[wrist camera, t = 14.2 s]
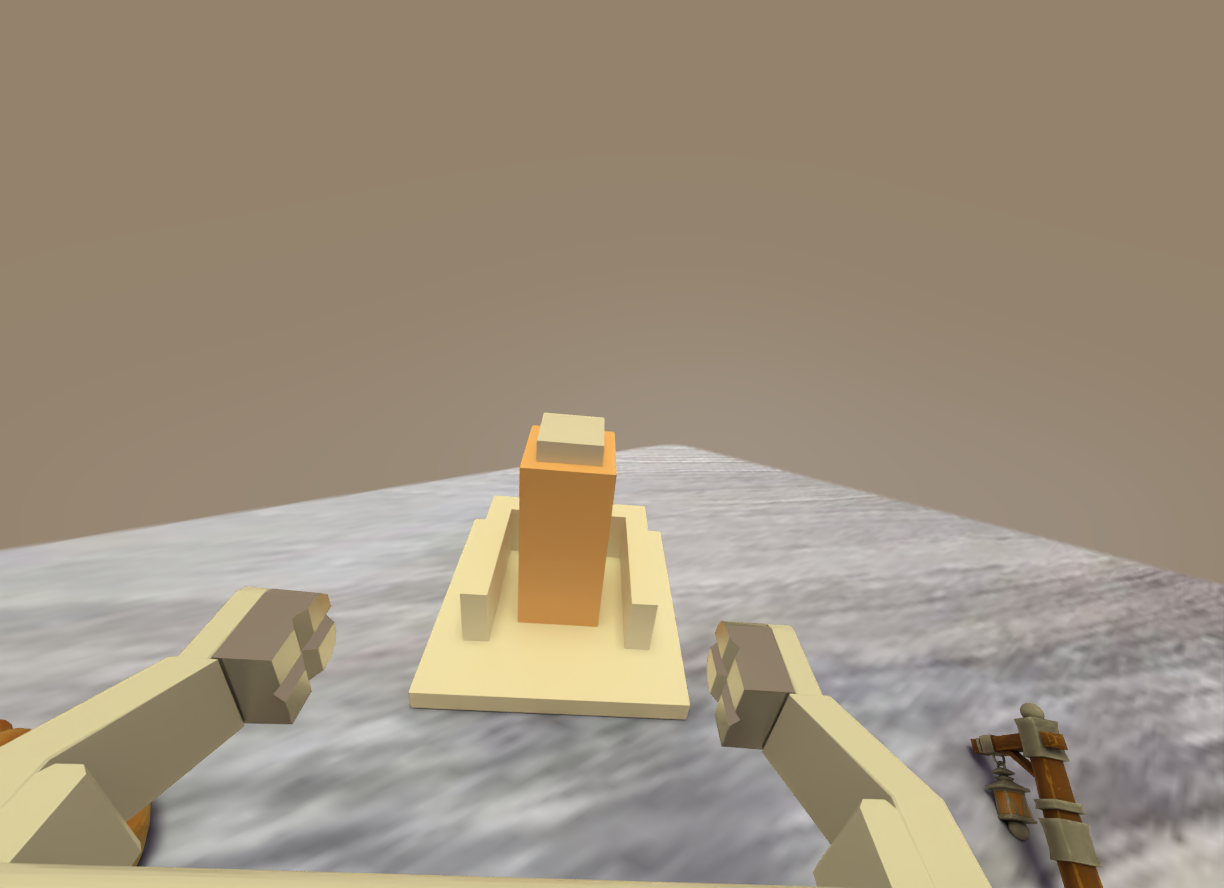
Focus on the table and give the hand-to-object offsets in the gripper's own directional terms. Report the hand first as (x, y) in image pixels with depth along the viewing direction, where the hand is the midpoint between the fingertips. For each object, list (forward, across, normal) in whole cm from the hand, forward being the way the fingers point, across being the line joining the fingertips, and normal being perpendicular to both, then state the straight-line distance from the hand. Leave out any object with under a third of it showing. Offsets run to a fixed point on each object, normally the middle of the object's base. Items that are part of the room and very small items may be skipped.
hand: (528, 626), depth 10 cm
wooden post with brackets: (+1, -19, +12) cm, 22 cm away
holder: (+12, -1, +12) cm, 17 cm away
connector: (+12, -1, +11) cm, 16 cm away
